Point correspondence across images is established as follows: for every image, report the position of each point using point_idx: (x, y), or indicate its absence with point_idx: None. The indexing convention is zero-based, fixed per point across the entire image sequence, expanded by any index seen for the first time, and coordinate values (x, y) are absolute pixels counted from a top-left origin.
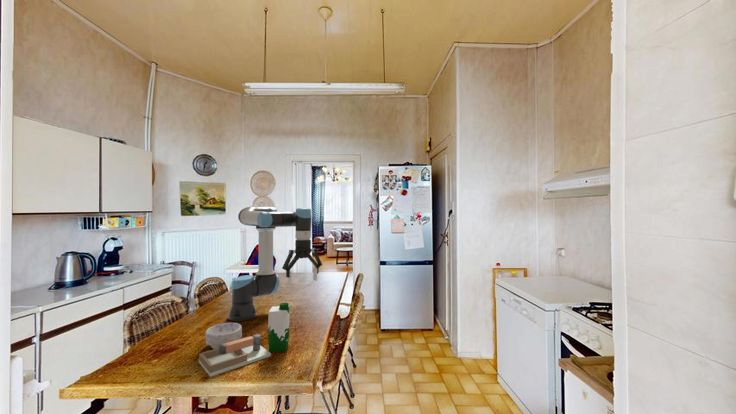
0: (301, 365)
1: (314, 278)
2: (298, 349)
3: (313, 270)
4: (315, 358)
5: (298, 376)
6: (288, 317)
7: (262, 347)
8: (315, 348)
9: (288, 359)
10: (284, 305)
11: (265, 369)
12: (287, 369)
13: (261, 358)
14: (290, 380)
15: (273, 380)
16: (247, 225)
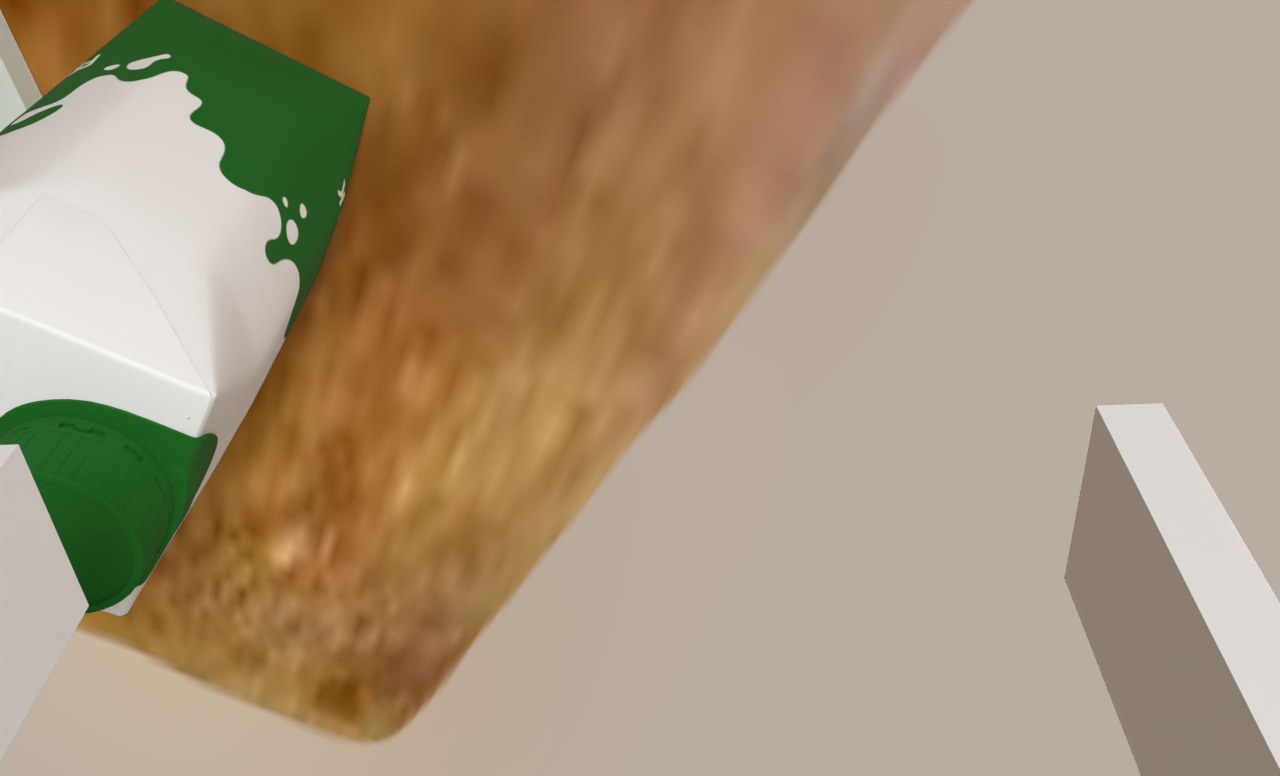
0: (396, 570)
1: (1104, 548)
2: (460, 282)
3: (1262, 752)
4: (557, 530)
5: (330, 683)
6: (221, 453)
7: (9, 85)
8: (646, 357)
9: (304, 426)
10: None
11: None
12: (264, 568)
13: None
14: (261, 697)
15: (135, 645)
16: None
